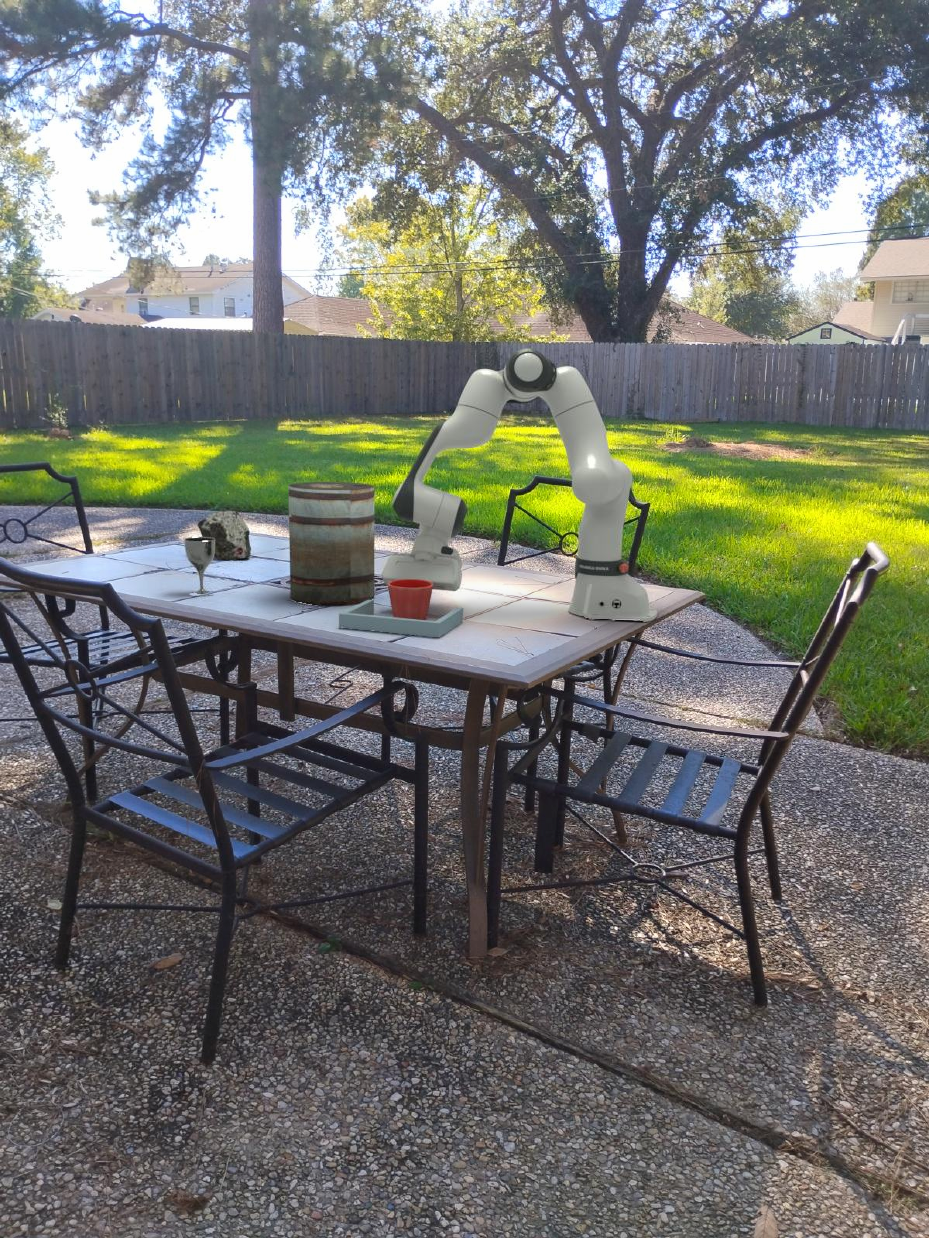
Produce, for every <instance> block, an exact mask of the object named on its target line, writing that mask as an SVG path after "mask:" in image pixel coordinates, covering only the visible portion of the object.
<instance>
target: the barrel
mask: <svg viewBox="0 0 929 1238" xmlns="http://www.w3.org/2000/svg"><path fill="white" fill-rule="evenodd" d="M288 527H289V528H288V530H289V531H288V534H289V535H288V536H289V537H288V538H289V583H290V585H289V588H290V589H289V591H290V592H289V593H290V594H289V595H290V600H291V599H292V600H294V601H296V602H295V603H297V602H302V603H306V604H312V605H311V606H314V605H318V606H317V607H347V606H348V607H349V606H356V605H358V604H360V603H362V602H364V601H366V600H372V599H373V600H374V599H375V485H373V484H370V483H361V482H351V481H350V482H347V481H310V482H309V481H308V482H296V483H290V484H288ZM292 600H291V601H292ZM294 601H293V602H294ZM306 604H305V605H306Z"/></svg>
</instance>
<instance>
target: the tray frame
mask: <svg viewBox="0 0 929 1238" xmlns="http://www.w3.org/2000/svg"><path fill="white" fill-rule="evenodd" d="M373 613H374V614H375V600H374V599H373V600H366V601H364V602H362V603H360V604H357V605H353V606H352V607H350V608H347V609H346V610H344V611H342V612H339V613H338V628H339V627H343V628H351V629H350V630H352V629H359V630H358V631H362V630H374V631H382V632H389V633H388V634H392V633H401V634H400V635H402V634H409V635H408V636H412V635H418V636H417V637H422V636H427V637H426V638H432V637H440V638H441V636H442V635H443V634H445V633H446V634H448V633H449V632H450V631H451V630H452V631H453V629H455V628H456V627H457V626H459V625H461V624H462V623H463V622H464V621H463V620H464V607H455V608H454V609H453V610H451V611H449V612H448V613H446V614H444V615H443V616H441V617H440V618H438V619H436V620H428V619H427V620H416V619H406V618H395V617H393V616H383V615H374V614H373ZM371 614H372V615H371ZM460 623H461V624H460ZM449 630H450V631H449ZM448 631H449V632H448ZM382 632H381V633H382ZM447 632H448V633H447ZM446 634H445V635H446ZM443 636H444V635H443ZM443 636H442V637H443Z"/></svg>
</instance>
